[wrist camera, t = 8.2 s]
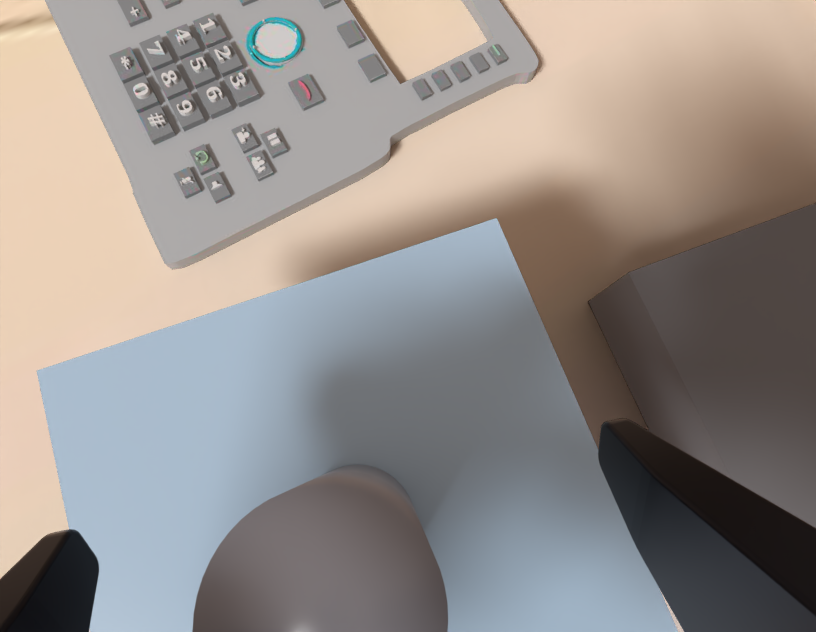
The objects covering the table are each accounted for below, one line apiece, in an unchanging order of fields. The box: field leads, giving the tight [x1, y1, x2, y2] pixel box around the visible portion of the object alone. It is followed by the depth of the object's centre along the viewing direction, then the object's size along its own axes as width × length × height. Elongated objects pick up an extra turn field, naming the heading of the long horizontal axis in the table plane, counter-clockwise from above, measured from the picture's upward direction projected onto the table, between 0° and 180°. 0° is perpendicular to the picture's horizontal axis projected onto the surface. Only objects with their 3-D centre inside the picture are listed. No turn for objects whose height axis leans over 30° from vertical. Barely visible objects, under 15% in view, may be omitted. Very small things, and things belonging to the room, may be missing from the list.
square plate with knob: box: [37, 218, 678, 632], centre depth 10 cm, size 13×13×8 cm
